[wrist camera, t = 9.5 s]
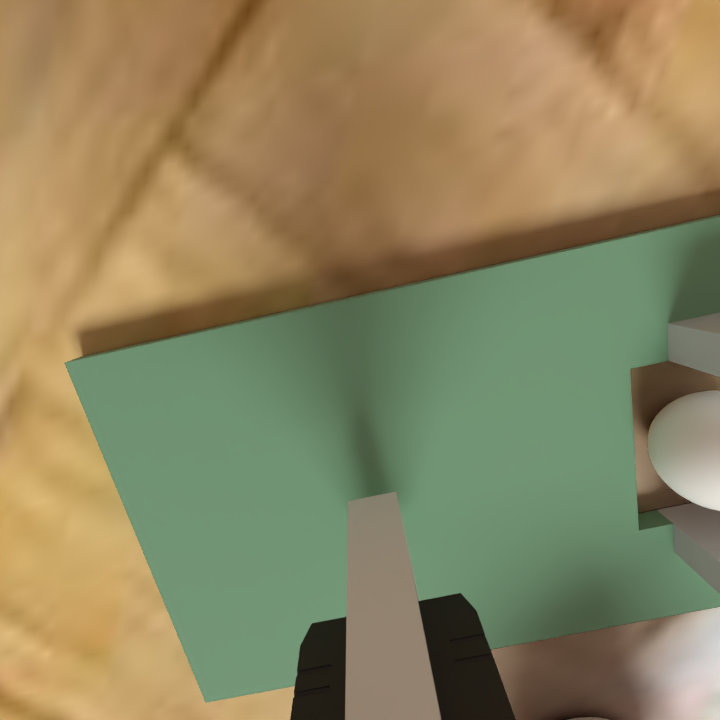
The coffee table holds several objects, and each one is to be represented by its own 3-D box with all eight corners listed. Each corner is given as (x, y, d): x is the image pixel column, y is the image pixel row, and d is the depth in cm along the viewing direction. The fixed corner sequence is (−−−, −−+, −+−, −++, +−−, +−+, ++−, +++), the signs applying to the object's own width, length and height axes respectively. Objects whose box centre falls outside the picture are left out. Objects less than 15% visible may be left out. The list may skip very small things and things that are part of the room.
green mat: (212, 681, 16) (205, 702, 16) (82, 356, 13) (64, 362, 12) (837, 563, 15) (863, 580, 15) (871, 180, 12) (907, 175, 11)
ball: (794, 561, 10) (815, 490, 12) (799, 433, 9) (820, 379, 11) (632, 510, 13) (670, 460, 15) (624, 409, 12) (666, 369, 14)
